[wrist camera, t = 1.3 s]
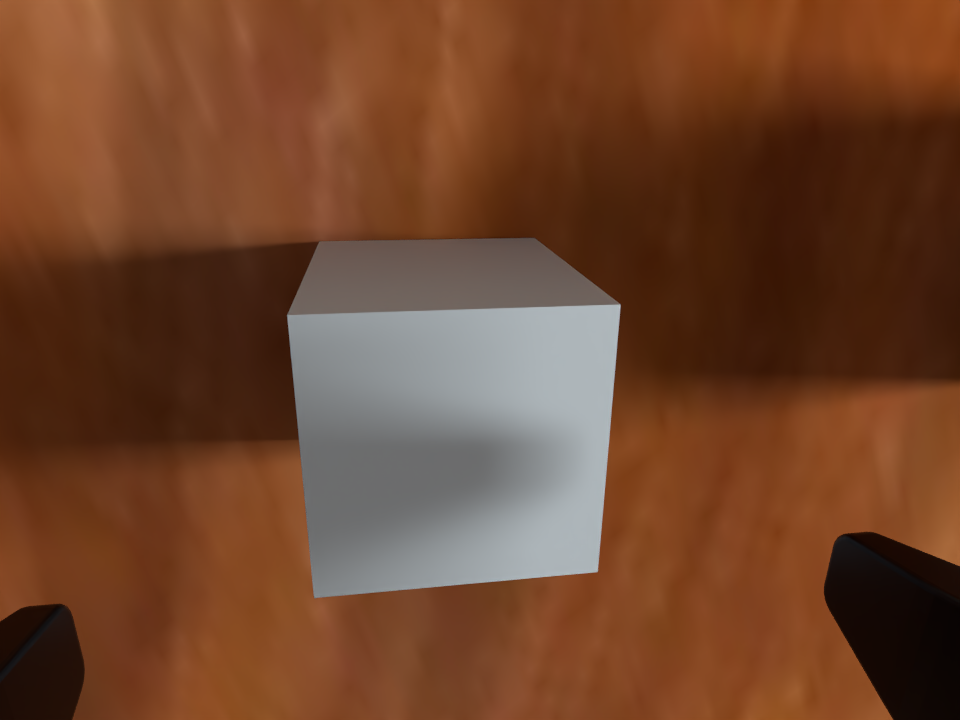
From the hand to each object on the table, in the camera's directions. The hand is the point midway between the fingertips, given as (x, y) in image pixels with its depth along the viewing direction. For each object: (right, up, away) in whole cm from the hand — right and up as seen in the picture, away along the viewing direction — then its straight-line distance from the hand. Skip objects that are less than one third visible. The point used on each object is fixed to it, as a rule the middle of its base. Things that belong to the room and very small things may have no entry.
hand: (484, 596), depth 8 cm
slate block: (-1, +3, +9) cm, 9 cm away
